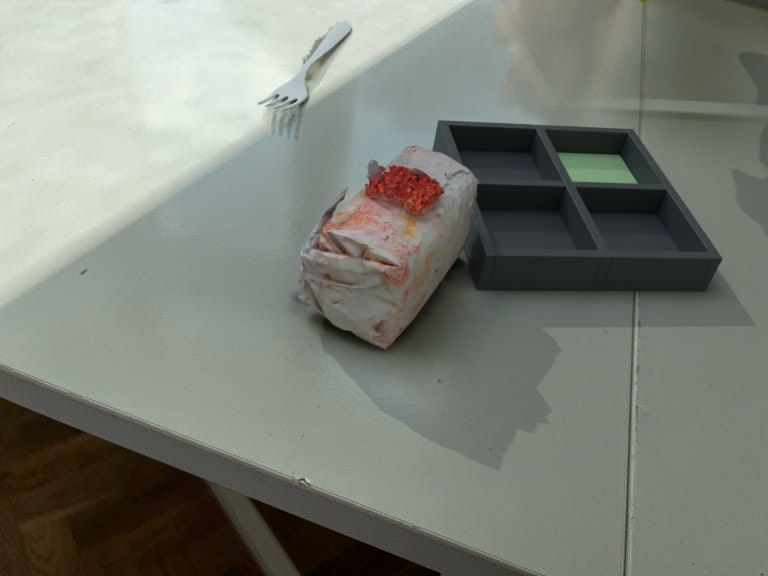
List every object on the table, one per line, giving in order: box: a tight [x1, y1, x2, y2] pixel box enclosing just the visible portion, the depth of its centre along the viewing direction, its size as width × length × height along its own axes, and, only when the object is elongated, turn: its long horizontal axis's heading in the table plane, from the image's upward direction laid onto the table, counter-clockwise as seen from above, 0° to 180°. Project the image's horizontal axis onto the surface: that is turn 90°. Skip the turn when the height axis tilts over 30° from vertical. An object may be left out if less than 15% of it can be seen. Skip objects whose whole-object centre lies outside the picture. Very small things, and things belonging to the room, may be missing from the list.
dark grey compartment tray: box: [431, 119, 723, 292], centre depth 64 cm, size 18×18×3 cm
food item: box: [297, 144, 479, 350], centre depth 53 cm, size 14×8×10 cm, turn 153°
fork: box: [257, 22, 352, 112], centre depth 79 cm, size 3×24×2 cm, turn 165°
